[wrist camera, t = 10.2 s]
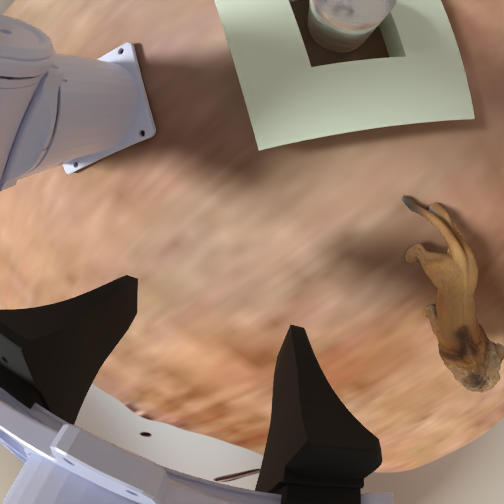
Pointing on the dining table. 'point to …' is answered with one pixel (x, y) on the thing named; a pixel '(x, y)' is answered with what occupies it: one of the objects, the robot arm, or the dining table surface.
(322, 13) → the peg
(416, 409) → the dining table surface
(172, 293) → the dining table surface
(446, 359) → the lion figurine
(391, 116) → the socket block
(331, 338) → the dining table surface
